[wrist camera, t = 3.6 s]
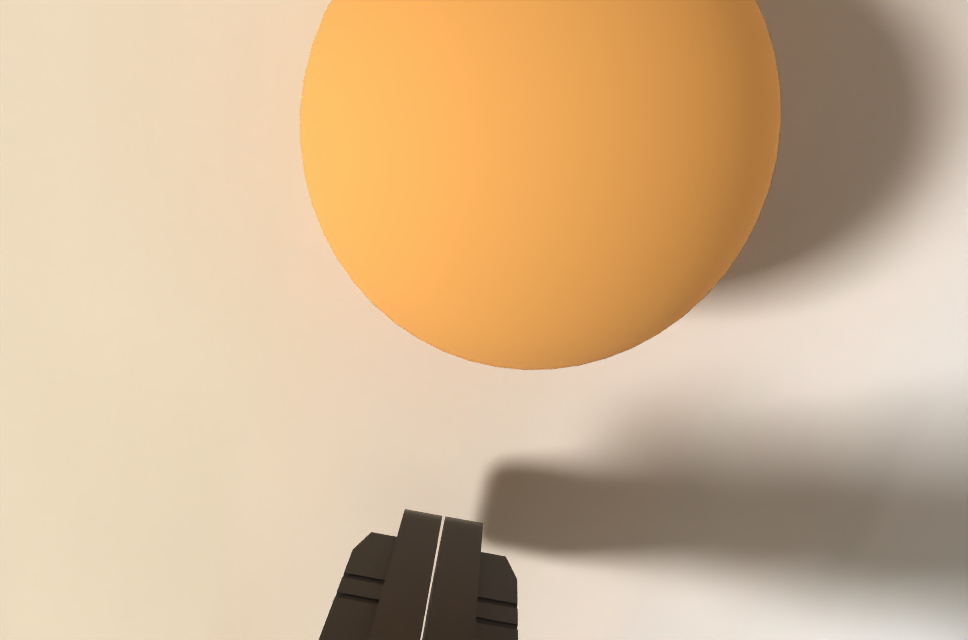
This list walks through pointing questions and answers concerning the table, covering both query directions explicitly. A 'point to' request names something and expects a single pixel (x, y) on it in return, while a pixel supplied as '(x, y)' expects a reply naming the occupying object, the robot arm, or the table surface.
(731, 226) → the ball
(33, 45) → the table surface
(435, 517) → the robot arm
